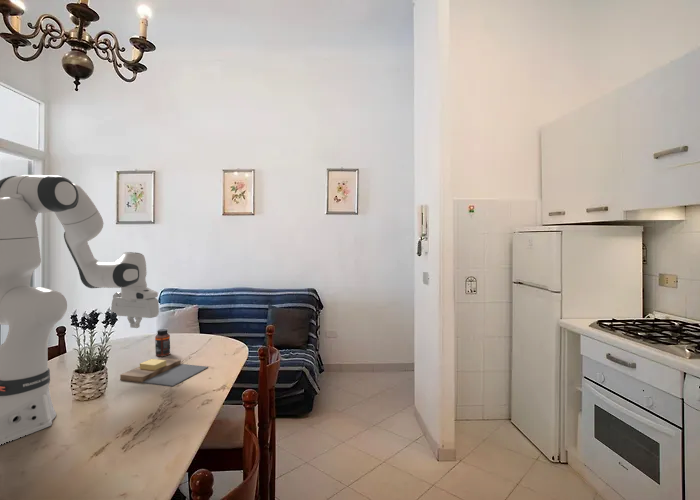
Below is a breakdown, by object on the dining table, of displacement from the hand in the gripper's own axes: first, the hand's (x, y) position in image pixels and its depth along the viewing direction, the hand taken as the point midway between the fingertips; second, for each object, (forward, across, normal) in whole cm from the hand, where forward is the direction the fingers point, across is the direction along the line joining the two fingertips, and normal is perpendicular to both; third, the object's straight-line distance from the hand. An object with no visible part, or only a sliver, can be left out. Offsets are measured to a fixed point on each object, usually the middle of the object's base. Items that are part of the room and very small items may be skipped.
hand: (134, 327), depth 150 cm
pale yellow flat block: (+15, +8, 0) cm, 17 cm away
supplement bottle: (+17, -4, +19) cm, 26 cm away
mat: (+17, +20, 0) cm, 26 cm away
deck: (+17, +8, 0) cm, 19 cm away
